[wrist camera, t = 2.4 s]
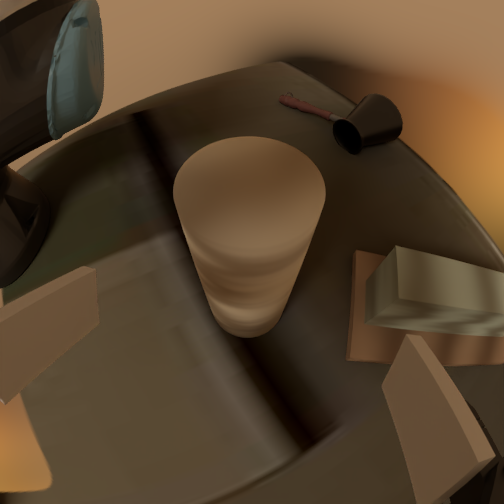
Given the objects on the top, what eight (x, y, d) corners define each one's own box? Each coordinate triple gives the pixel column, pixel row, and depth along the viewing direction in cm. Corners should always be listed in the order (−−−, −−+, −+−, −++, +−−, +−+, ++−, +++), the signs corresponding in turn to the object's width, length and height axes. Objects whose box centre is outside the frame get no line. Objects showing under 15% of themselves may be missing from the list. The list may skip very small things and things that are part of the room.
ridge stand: (345, 360, 20) (384, 342, 14) (352, 255, 25) (380, 209, 19) (501, 364, 18) (544, 346, 12) (494, 285, 23) (530, 258, 17)
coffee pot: (399, 148, 34) (366, 172, 32) (314, 102, 43) (279, 119, 42) (407, 106, 28) (373, 125, 26) (312, 66, 37) (272, 80, 35)
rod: (196, 304, 22) (144, 187, 10) (244, 257, 25) (245, 122, 13) (250, 352, 21) (257, 282, 8) (297, 299, 23) (351, 181, 11)
